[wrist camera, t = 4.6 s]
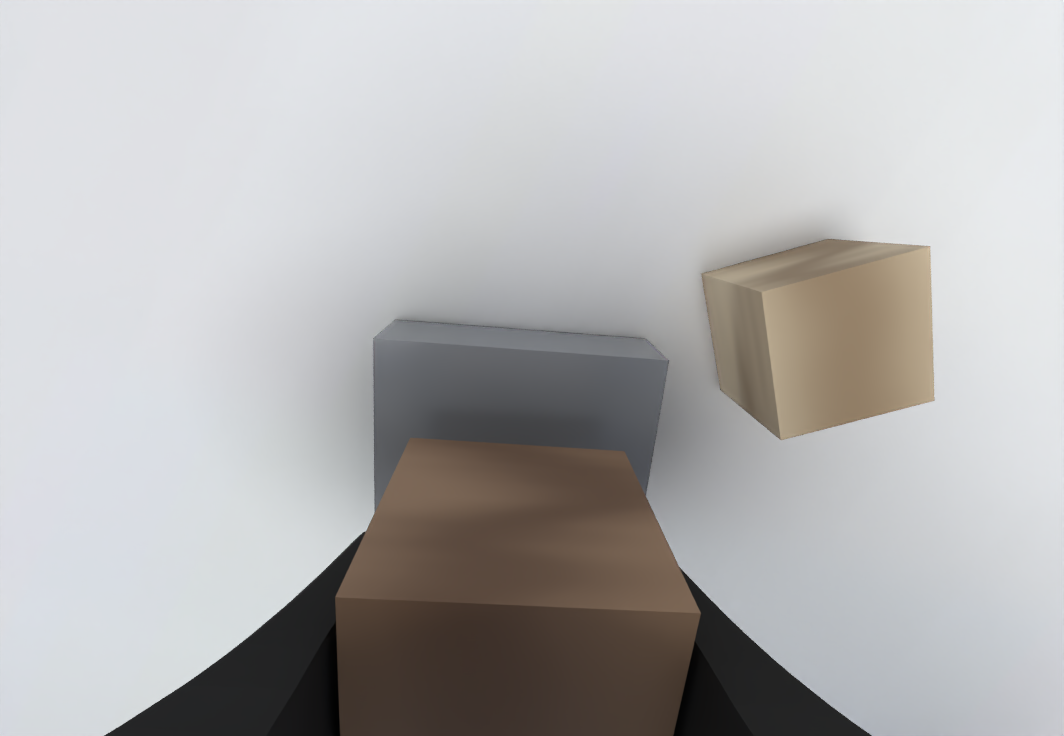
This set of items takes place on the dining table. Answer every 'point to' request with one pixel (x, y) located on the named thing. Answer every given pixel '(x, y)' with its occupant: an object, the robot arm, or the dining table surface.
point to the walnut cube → (513, 600)
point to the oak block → (824, 333)
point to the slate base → (514, 391)
